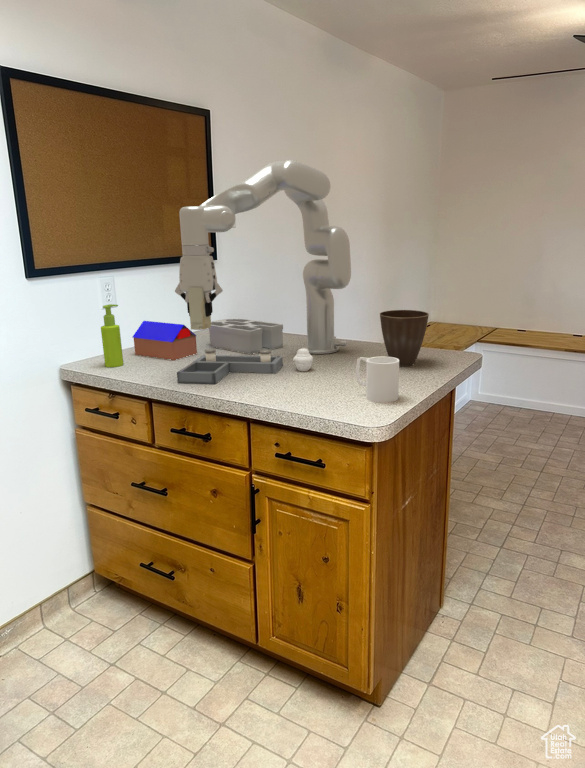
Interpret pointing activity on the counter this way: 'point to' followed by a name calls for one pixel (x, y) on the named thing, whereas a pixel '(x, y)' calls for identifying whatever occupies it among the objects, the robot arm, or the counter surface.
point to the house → (164, 340)
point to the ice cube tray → (245, 335)
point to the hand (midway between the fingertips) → (200, 315)
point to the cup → (380, 378)
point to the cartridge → (265, 355)
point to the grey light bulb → (210, 354)
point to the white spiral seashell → (303, 360)
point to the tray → (203, 372)
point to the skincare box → (198, 309)
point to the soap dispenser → (111, 340)
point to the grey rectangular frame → (248, 363)
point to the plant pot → (403, 334)
